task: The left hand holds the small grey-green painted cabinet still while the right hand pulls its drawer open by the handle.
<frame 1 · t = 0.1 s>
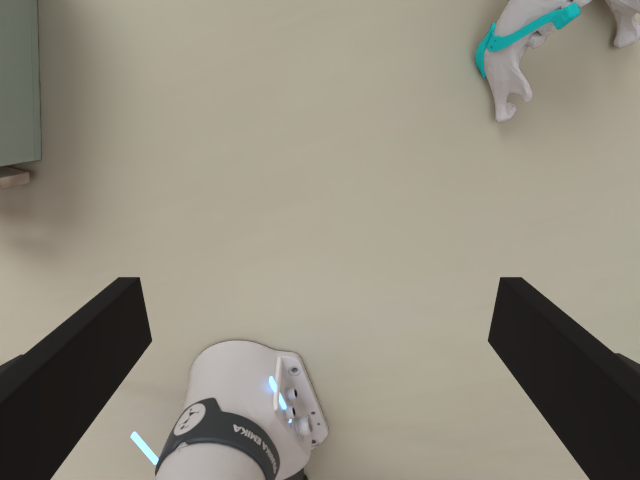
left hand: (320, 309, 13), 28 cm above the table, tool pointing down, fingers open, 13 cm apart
anatomical model: (540, 33, 34), on the table
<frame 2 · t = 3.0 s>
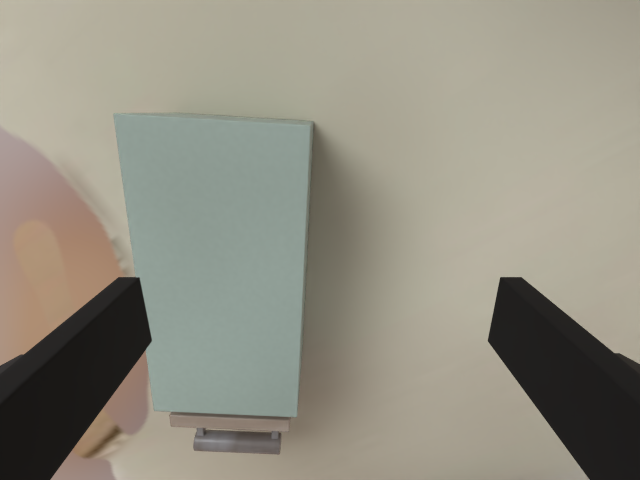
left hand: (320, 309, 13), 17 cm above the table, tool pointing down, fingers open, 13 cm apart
cabinet: (247, 241, 31), on the table
drawer: (237, 328, 28), point 4 cm above the table, slide at 1.4 cm
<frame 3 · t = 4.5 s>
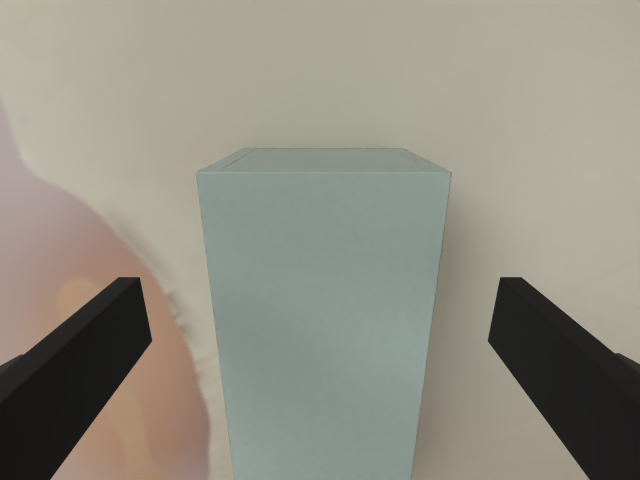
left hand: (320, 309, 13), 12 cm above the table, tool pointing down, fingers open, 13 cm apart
cabinet: (322, 289, 26), on the table
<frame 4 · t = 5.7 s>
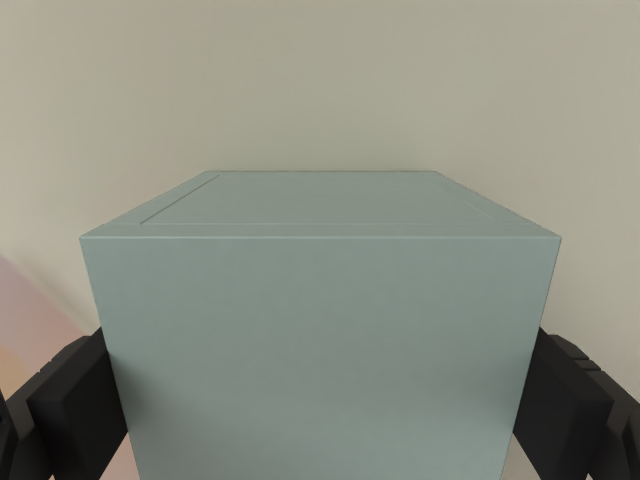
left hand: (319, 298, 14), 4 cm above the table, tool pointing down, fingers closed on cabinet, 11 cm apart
cabinet: (320, 357, 19), on the table, touching left hand
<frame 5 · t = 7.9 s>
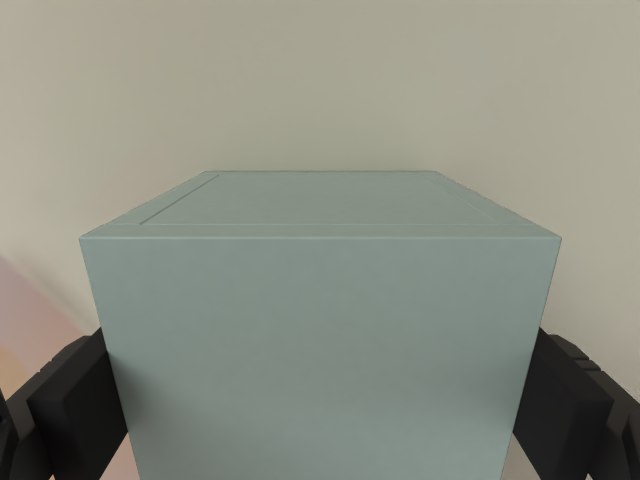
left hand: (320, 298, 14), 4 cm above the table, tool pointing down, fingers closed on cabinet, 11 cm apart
cabinet: (320, 357, 19), on the table, touching left hand
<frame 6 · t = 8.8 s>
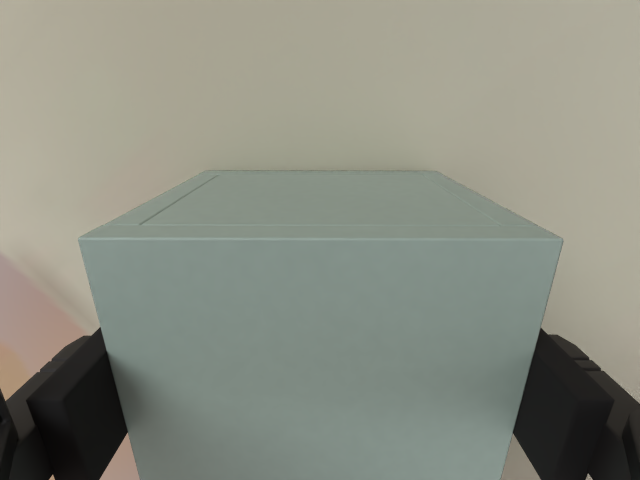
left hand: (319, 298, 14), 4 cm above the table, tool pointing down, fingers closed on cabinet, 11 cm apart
cabinet: (320, 357, 19), on the table, touching left hand
when the left hand's fingers open (4 cm above the table, at t = 10.8 s): cabinet stays where it is, on the table.
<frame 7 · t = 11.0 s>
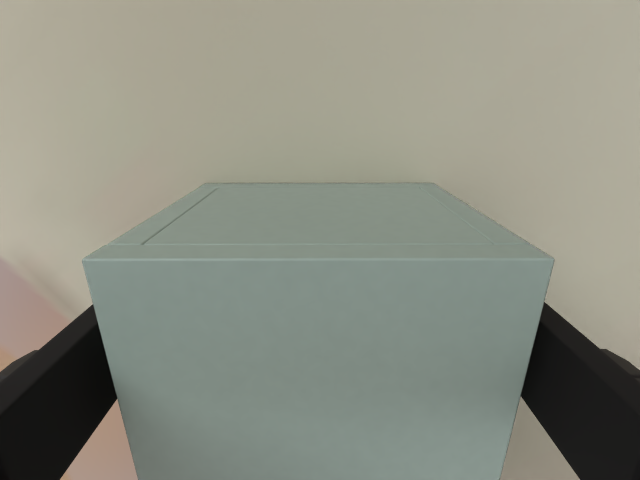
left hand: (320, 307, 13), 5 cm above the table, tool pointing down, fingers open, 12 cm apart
cabinet: (319, 365, 20), on the table
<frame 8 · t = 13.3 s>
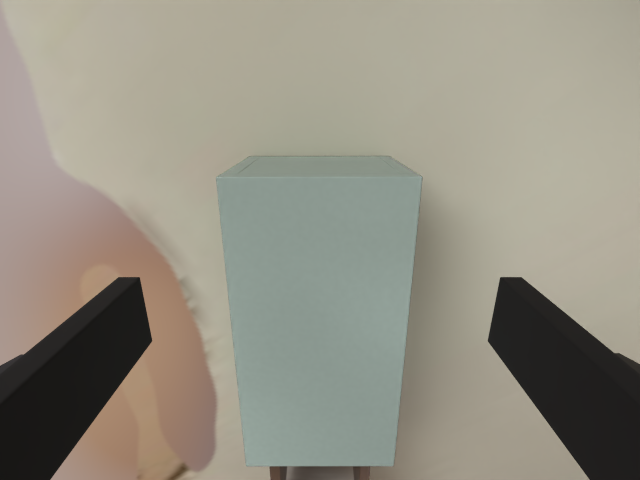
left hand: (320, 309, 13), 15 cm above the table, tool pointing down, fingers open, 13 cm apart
cabinet: (319, 280, 30), on the table
drawer: (319, 441, 30), point 4 cm above the table, slide at 8.8 cm
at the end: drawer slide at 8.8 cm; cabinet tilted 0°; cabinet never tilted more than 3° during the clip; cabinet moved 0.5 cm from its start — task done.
